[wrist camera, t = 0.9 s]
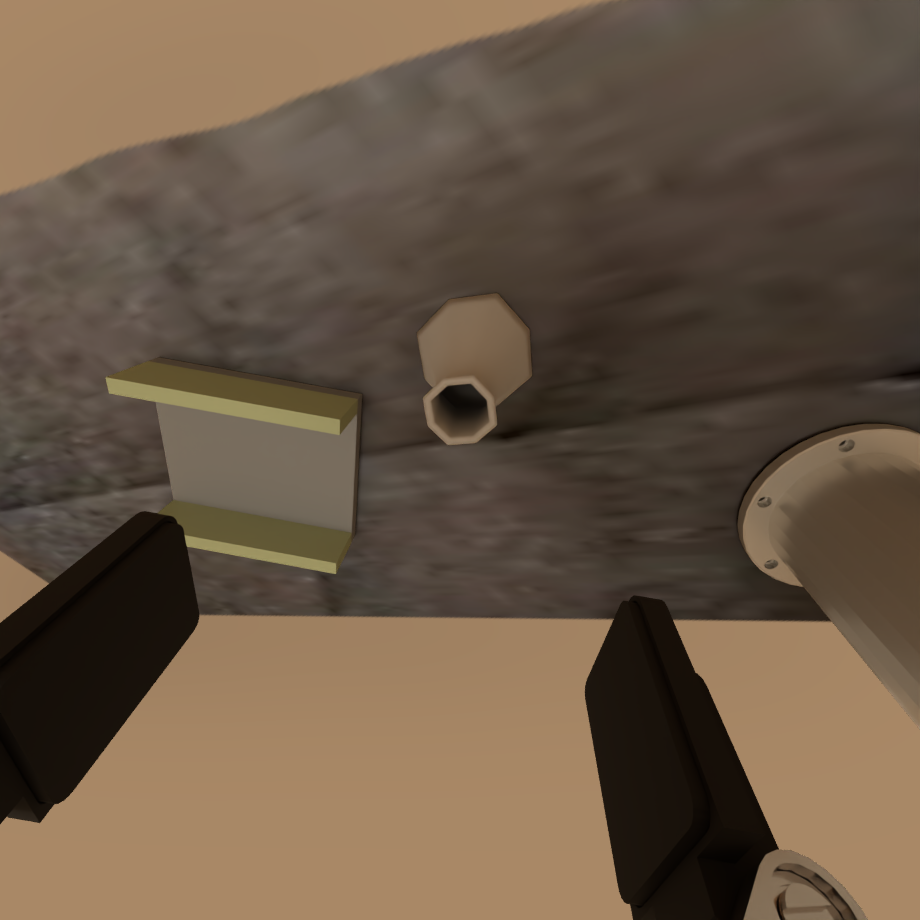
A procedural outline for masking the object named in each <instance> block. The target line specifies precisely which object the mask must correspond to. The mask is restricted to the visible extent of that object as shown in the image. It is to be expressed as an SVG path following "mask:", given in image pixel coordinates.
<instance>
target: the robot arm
mask: <svg viewBox="0 0 920 920" xmlns="http://www.w3.org/2000/svg"><path fill="white" fill-rule="evenodd" d="M737 526H738V533H739V539H740V541H741V544H742V546H743V548H744V550H745V552H746V553H747V554H748V556H749V557H750V558H751V560H752V561H753V563H754V564H755V565H756V566H757V567H758V568H759V569H760V570H761V571H763V572H764V573H766V574H767V575H769V576H771V577H772V578H774V579H776V580H779V581H781V582H784V583H787V584H790V585H795V586H800V587H804V588H805V589H806V590H807V592H808V593H809V594H810V595H811V597H812V598H813V599H814V600H815V602H816V603H817V604H818V605H819V606H820V608H821V609H822V610H823V611H824V613H825V614H826V615H827V616H828V617H829V619H830V620H831V621H832V622H833V624H834V625H835V626H836V627H837V628H838V630H839V631H840V632H841V633H842V635H843V636H844V637H845V638H846V639H847V641H848V642H849V643H850V644H851V646H852V647H853V648H854V649H855V651H856V652H857V653H858V654H859V655H860V656H861V658H862V659H863V660H864V662H865V663H866V664H867V665H868V666H869V668H870V669H871V670H872V671H873V673H874V674H875V675H876V676H877V677H878V679H879V680H880V681H881V682H882V684H883V685H884V686H885V687H886V688H887V690H888V691H889V692H890V693H891V695H892V696H893V697H894V698H895V700H896V701H897V702H898V703H899V705H900V706H901V707H902V708H903V709H904V711H905V712H906V713H907V714H908V716H909V717H910V718H911V719H912V720H913V722H914V723H915V724H916V725H917V727H918V728H919V729H920V433H918V432H916V431H913V430H911V429H908V428H906V427H901V426H895V425H889V424H860V425H853V426H847V427H841V428H838V429H835V430H831V431H828V432H824V433H821V434H819V435H816V436H814V437H812V438H810V439H808V440H805V441H803V442H801V443H799V444H797V445H796V446H794V447H793V448H791V449H789V450H788V451H786V452H785V453H783V454H781V455H780V456H779V457H778V458H777V459H775V460H774V461H773V462H772V463H771V464H769V465H768V466H767V467H766V468H765V469H764V470H763V471H762V472H761V474H760V475H759V476H758V477H757V478H756V479H755V480H754V482H753V483H752V485H751V486H750V488H749V490H748V491H747V493H746V495H745V496H744V499H743V502H742V504H741V507H740V510H739V516H738V524H737ZM198 620H199V609H198V604H197V599H196V593H195V588H194V583H193V577H192V572H191V567H190V561H189V556H188V550H187V545H186V540H185V534H184V530H183V527H182V526H181V525H179V524H178V523H177V520H176V519H175V518H174V517H173V516H169V515H163V514H158V513H152V512H146V511H144V512H140V513H138V514H136V515H135V516H134V517H132V518H131V519H130V520H129V521H127V522H126V523H125V524H124V525H122V526H121V527H120V528H119V529H117V530H116V531H115V532H114V533H112V534H111V535H110V536H109V537H107V538H106V539H105V540H103V541H102V542H101V543H100V544H98V545H97V546H96V547H95V548H93V549H92V550H91V551H90V552H88V553H87V554H86V555H85V556H83V557H82V558H81V559H80V560H78V561H77V562H76V563H75V564H73V565H72V566H71V567H70V568H68V569H67V570H66V571H65V572H63V573H62V574H61V575H60V576H58V577H57V578H56V579H55V580H53V581H52V582H51V583H50V584H48V585H47V586H46V587H45V588H43V589H42V590H41V591H40V592H38V593H37V594H36V595H35V596H33V597H32V598H31V599H30V600H28V601H27V602H26V603H25V604H23V605H22V606H21V607H20V608H18V609H17V610H16V611H15V612H13V613H12V614H11V615H10V616H8V617H7V618H6V619H5V620H3V621H2V622H1V623H0V824H1V823H2V821H3V820H4V819H5V818H6V817H9V818H15V819H20V820H27V821H32V822H37V823H40V822H41V821H42V820H43V818H44V817H45V816H46V814H47V813H48V812H49V810H50V809H51V808H52V807H53V805H54V804H59V803H60V802H62V801H64V800H65V799H66V798H67V797H68V796H69V795H70V794H71V793H72V792H73V790H74V789H75V788H76V787H77V785H78V784H79V783H80V781H81V780H82V779H83V777H84V776H85V775H86V773H87V772H88V771H89V769H90V768H91V767H92V765H93V764H94V763H95V761H96V760H97V759H98V757H99V756H100V754H101V753H102V752H103V751H104V749H105V748H106V747H107V745H108V744H109V743H110V741H111V740H112V739H113V737H114V736H115V735H116V733H117V732H118V731H119V730H120V728H121V727H122V726H123V724H124V723H125V722H126V720H127V719H128V717H129V716H130V715H131V713H132V712H133V711H134V710H135V708H136V707H137V705H138V704H139V703H140V702H141V700H142V699H143V698H144V696H145V695H146V694H147V692H148V691H149V690H150V688H151V687H152V686H153V684H154V683H155V682H156V680H157V679H158V678H159V676H160V675H161V674H162V673H163V671H164V670H165V669H166V667H167V666H168V665H169V663H170V662H171V660H172V659H173V658H174V657H175V655H176V654H177V653H178V651H179V650H180V649H181V647H182V646H183V645H184V643H185V642H186V641H187V639H188V638H189V636H190V635H191V634H192V633H193V631H194V630H195V628H196V626H197V623H198ZM585 700H586V705H587V711H588V717H589V722H590V728H591V734H592V739H593V745H594V751H595V757H596V762H597V768H598V774H599V780H600V786H601V791H602V797H603V803H604V808H605V814H606V820H607V826H608V831H609V837H610V843H611V848H612V854H613V859H614V865H615V871H616V877H617V883H618V888H619V892H620V895H621V898H622V899H623V901H624V902H625V903H627V904H630V906H631V911H632V916H633V920H868V919H867V918H866V916H865V914H864V912H863V911H862V909H861V908H860V906H859V905H858V904H857V902H856V901H855V900H854V899H853V897H852V896H851V895H850V894H849V892H848V891H847V890H846V888H845V887H844V886H843V885H842V884H841V883H839V882H838V881H837V880H836V879H835V878H834V877H833V876H832V875H831V874H830V873H829V872H828V871H827V870H826V869H824V868H823V867H821V866H820V865H818V864H817V863H816V862H814V861H813V860H811V859H810V858H808V857H806V856H803V855H801V854H799V853H796V852H794V851H791V850H779V848H778V846H777V844H776V842H775V839H774V837H773V835H772V833H771V830H770V828H769V826H768V824H767V821H766V819H765V817H764V814H763V812H762V810H761V808H760V805H759V803H758V801H757V799H756V796H755V794H754V792H753V790H752V787H751V785H750V783H749V781H748V778H747V776H746V774H745V771H744V769H743V767H742V765H741V762H740V760H739V758H738V756H737V753H736V751H735V749H734V746H733V744H732V742H731V740H730V737H729V735H728V733H727V731H726V728H725V726H724V724H723V722H722V719H721V717H720V715H719V713H718V710H717V708H716V706H715V704H714V701H713V699H712V697H711V694H710V692H709V690H708V688H707V686H706V684H705V682H704V680H703V679H702V678H701V677H700V676H699V675H698V674H697V673H695V671H694V668H693V666H692V664H691V661H690V659H689V657H688V654H687V652H686V650H685V647H684V645H683V643H682V640H681V638H680V636H679V634H678V631H677V629H676V626H675V624H674V622H673V619H672V617H671V615H670V612H669V610H668V608H667V606H666V604H665V602H664V601H662V600H659V599H653V598H647V597H641V596H633V597H631V599H630V600H629V602H628V601H623V602H622V603H621V605H620V607H619V609H618V611H617V613H616V616H615V618H614V620H613V622H612V625H611V627H610V629H609V631H608V634H607V636H606V638H605V641H604V643H603V645H602V647H601V649H600V652H599V654H598V656H597V658H596V661H595V663H594V665H593V667H592V670H591V672H590V674H589V676H588V678H587V681H586V686H585Z"/></svg>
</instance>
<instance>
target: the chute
mask: <svg viewBox="0 0 920 920" xmlns="http://www.w3.org/2000/svg"><path fill="white" fill-rule="evenodd" d="M106 381H107V386H108V390H109V393H110V394H116V395H122V396H127V397H133V398H138V399H144V400H149V401H155V402H156V407H157V412H158V418H159V423H160V429H161V434H162V439H163V445H164V450H165V456H166V461H167V467H168V472H169V477H170V483H171V488H172V494H173V499H174V500H173V501H172V502H171V503H169V504H168V505H167V506H166V507H164V508H163V509H162V510H161V511H160V512H158V514H163V515H169V516H173V517H174V518H175V519H176V520H177V523H178V524H179V525H181V526H182V527H183V530H184V534H185V540H186V545H187V546H188V547H193V548H199V549H204V550H210V551H215V552H220V553H226V554H231V555H236V556H242V557H247V558H253V559H258V560H263V561H269V562H274V563H280V564H285V565H290V566H296V567H301V568H306V569H312V570H317V571H323V572H328V573H333V574H336V573H337V571H338V569H339V567H340V565H341V563H342V561H343V559H344V557H345V555H346V553H347V551H348V549H349V547H350V545H351V542H352V540H353V538H354V536H355V528H356V509H357V489H358V470H359V450H360V430H361V411H362V394H360V393H354V392H349V391H343V390H338V389H332V388H327V387H321V386H316V385H310V384H304V383H299V382H293V381H288V380H282V379H277V378H271V377H266V376H260V375H255V374H249V373H243V372H238V371H232V370H227V369H221V368H216V367H210V366H205V365H199V364H194V363H188V362H182V361H177V360H171V359H166V358H160V357H158V358H155V359H153V360H150V361H147V362H145V363H142V364H139V365H137V366H134V367H131V368H129V369H126V370H123V371H121V372H118V373H115V374H113V375H110V376H108V377H106Z"/></svg>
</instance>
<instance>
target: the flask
mask: <svg viewBox="0 0 920 920" xmlns="http://www.w3.org/2000/svg"><path fill="white" fill-rule="evenodd" d="M417 339H418V345H419V351H420V357H421V362H422V368H423V374H424V378H425V380H426V381H427V382H428V383H429V384H430V385H431V386H432V387H433V388H432V389H431V390H430V391H429V392H428V393H427V394H426V395H425V396H424V397H423V402H424V408H425V414H426V419H427V425H428V427H429V428H430V429H431V430H433V431H434V432H435V433H436V434H437V435H438V436H439V437H440V438H441V439H442V440H443V441H444V442H445V443H446V444H447V445H456V444H469V443H476V442H478V441H479V440H480V439H481V438H482V437H484V436H485V435H486V434H487V433H488V432H490V431H491V430H492V429H493V428H494V427H496V426H497V416H496V406H497V405H499V404H500V403H501V402H502V401H504V400H505V399H506V398H507V397H508V396H509V395H511V394H512V393H513V392H514V391H515V390H516V389H518V388H519V387H520V386H521V385H522V384H523V383H525V382H526V381H527V380H528V379H529V378H530V377H532V361H531V344H530V329H529V328H528V327H527V326H526V325H525V324H524V323H523V322H522V320H521V319H520V318H519V317H518V316H517V315H516V314H515V312H514V311H513V310H512V309H511V308H510V307H509V306H508V304H507V303H506V302H505V301H504V300H503V299H502V298H501V296H500V295H499V294H498V293H494V294H486V295H478V296H470V297H462V298H454V299H449V300H448V301H447V302H446V303H445V304H444V305H443V306H442V307H441V308H440V309H439V310H438V311H437V312H436V313H435V314H434V315H433V316H432V317H431V318H430V319H429V320H428V321H427V322H426V324H425V325H424V326H423V327H422V328H421V329H420V330H419V331H418V332H417Z"/></svg>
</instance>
